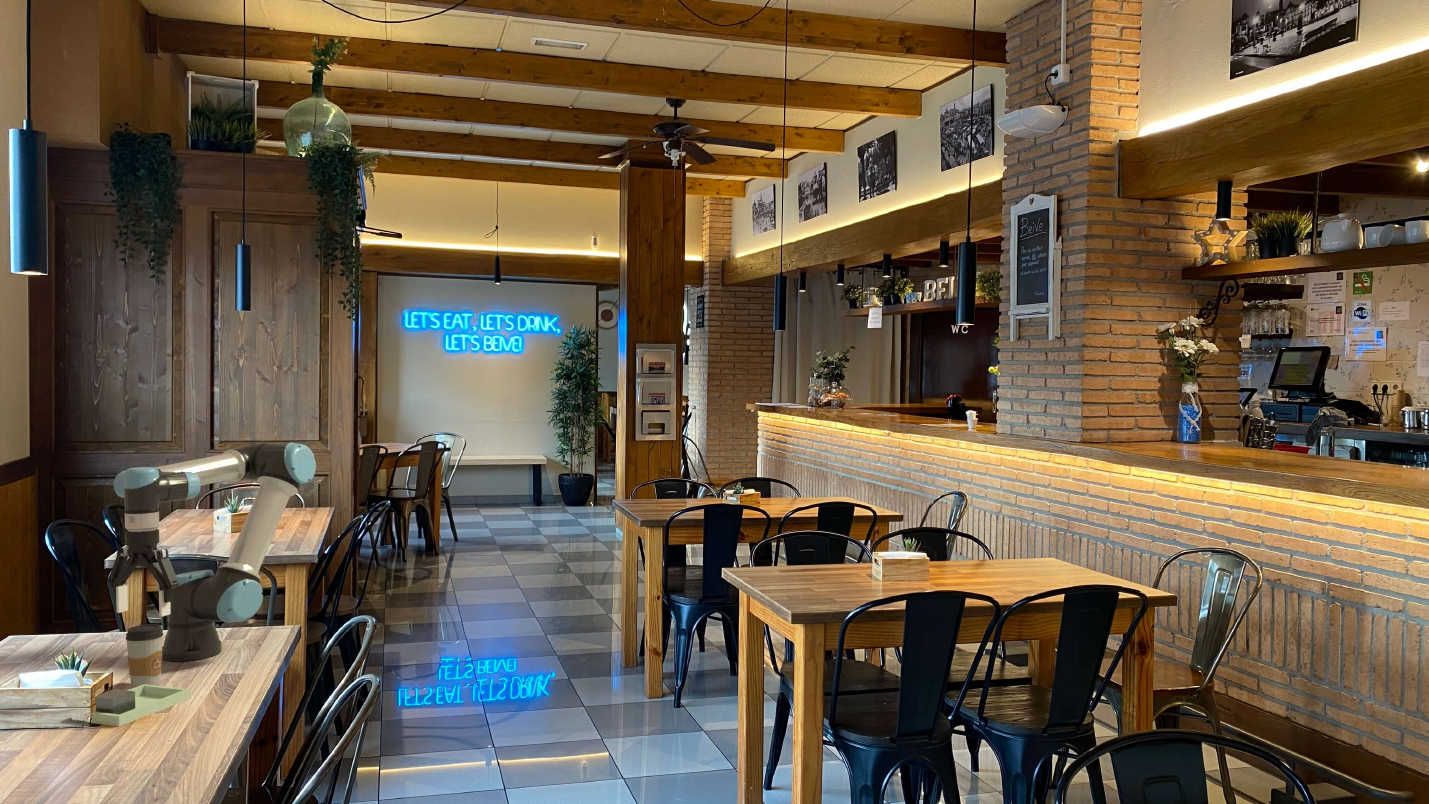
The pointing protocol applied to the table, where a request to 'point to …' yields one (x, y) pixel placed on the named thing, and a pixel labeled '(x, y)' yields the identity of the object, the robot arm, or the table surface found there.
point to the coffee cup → (144, 654)
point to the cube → (115, 701)
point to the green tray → (144, 704)
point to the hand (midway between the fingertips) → (143, 613)
